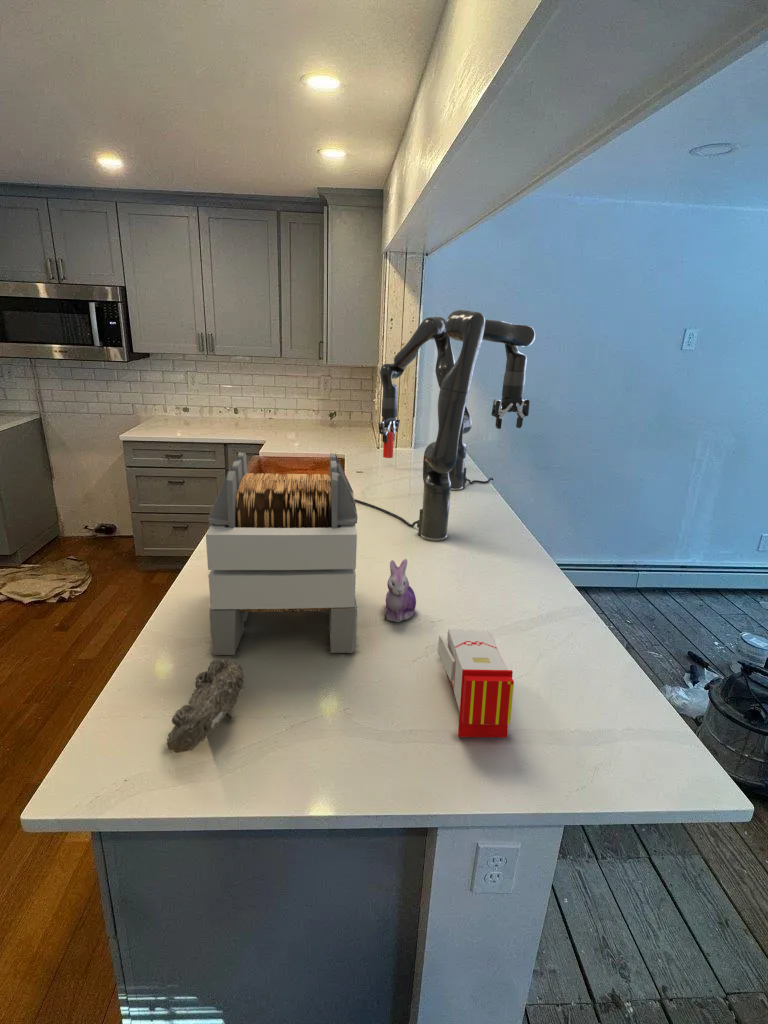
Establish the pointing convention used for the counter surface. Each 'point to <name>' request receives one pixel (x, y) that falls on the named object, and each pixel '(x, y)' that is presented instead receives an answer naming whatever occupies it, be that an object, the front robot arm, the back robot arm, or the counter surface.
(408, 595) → the figurine
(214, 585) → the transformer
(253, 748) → the counter surface
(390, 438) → the canister
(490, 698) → the toy
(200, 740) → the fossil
